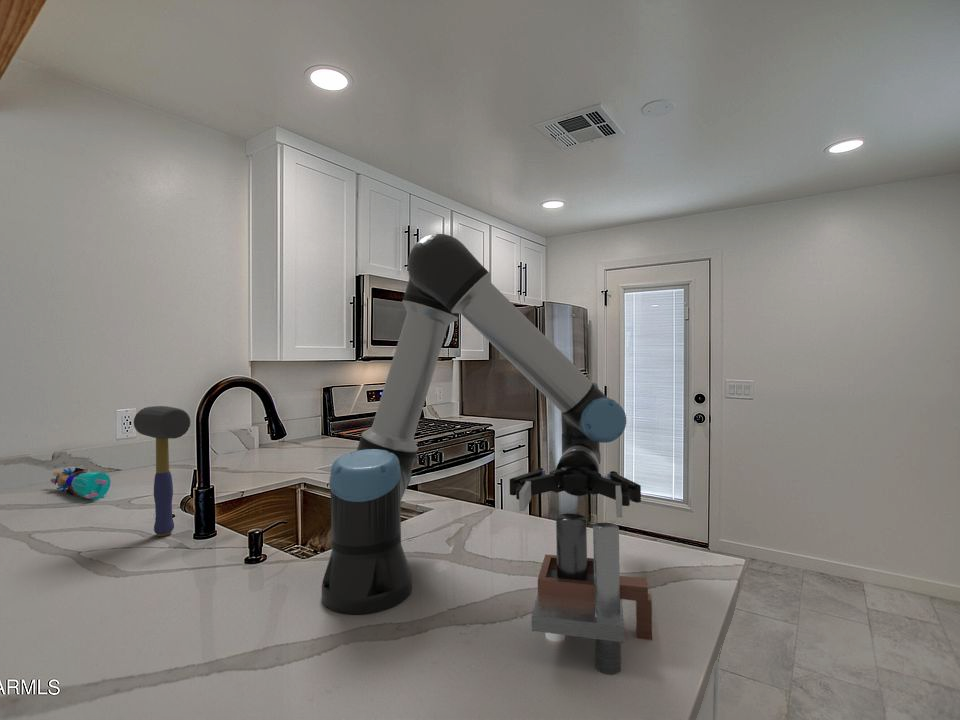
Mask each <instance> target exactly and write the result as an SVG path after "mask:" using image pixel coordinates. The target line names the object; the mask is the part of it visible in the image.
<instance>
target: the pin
mask: <svg viewBox="0 0 960 720" xmlns="http://www.w3.org/2000/svg"><path fill="white" fill-rule="evenodd" d="M555 523H556V524H555V525H556V526H555V528H556V529H555V530H556V531H555V532H556V533H555V534H556V537H555V538H556V541H555V542H556V555H557V578H560V579H571V580H581V581H587V558H588V542H587V541H588V540H587V538H588V536H587V517H586V516H584V515H581V514H578V513H562V514H559V515H557V516H556V517H555Z"/></svg>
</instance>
